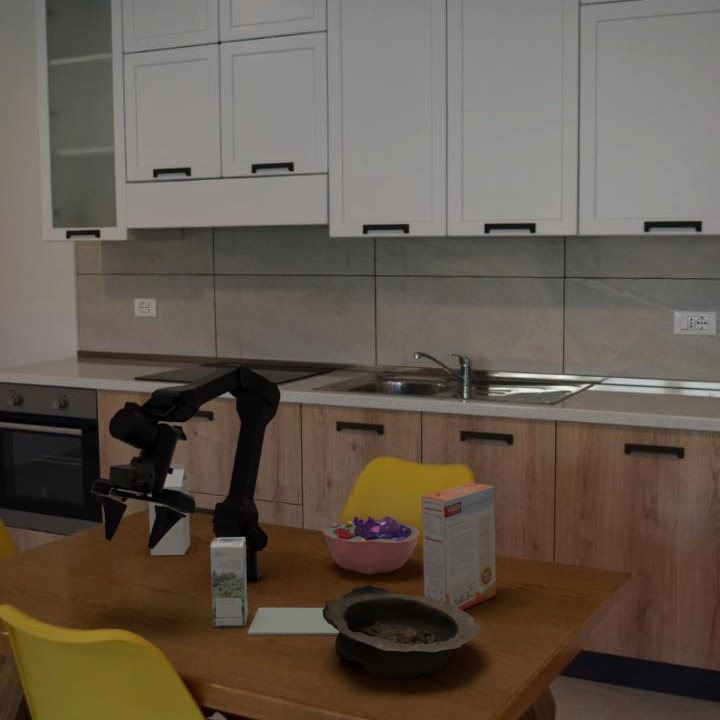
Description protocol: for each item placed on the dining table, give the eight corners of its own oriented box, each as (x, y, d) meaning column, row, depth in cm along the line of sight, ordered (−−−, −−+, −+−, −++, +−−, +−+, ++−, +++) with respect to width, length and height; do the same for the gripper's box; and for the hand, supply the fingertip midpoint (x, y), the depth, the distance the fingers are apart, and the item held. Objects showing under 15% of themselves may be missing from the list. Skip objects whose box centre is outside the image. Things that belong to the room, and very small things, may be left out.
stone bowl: (292, 649, 167) (294, 593, 166) (422, 631, 179) (424, 578, 178) (368, 704, 145) (371, 640, 145) (510, 679, 158) (513, 619, 157)
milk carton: (184, 555, 220) (180, 467, 218) (150, 556, 220) (147, 468, 218) (190, 546, 227) (186, 460, 225) (157, 546, 227) (154, 461, 225)
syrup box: (248, 615, 183) (245, 535, 182) (245, 627, 177) (243, 544, 176) (216, 616, 183) (213, 536, 182) (212, 628, 177) (209, 545, 176)
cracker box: (471, 590, 195) (470, 480, 192) (497, 597, 190) (496, 485, 188) (421, 609, 185) (420, 494, 183) (447, 617, 181) (446, 499, 178)
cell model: (345, 553, 220) (344, 501, 218) (433, 564, 211) (433, 510, 210) (307, 576, 204) (306, 520, 203) (400, 589, 196) (399, 531, 194)
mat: (259, 609, 186) (258, 607, 186) (348, 610, 185) (347, 608, 185) (247, 634, 174) (247, 632, 174) (342, 635, 173) (342, 632, 173)
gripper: (86, 437, 179) (57, 525, 175) (172, 449, 171) (144, 542, 166) (124, 456, 189) (97, 540, 184) (208, 468, 180) (182, 557, 175)
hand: (128, 544), depth 177 cm, fingers open, 9 cm apart
